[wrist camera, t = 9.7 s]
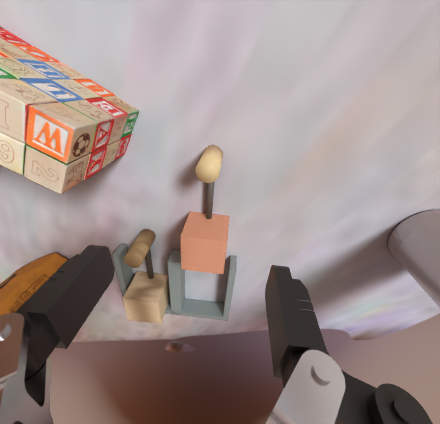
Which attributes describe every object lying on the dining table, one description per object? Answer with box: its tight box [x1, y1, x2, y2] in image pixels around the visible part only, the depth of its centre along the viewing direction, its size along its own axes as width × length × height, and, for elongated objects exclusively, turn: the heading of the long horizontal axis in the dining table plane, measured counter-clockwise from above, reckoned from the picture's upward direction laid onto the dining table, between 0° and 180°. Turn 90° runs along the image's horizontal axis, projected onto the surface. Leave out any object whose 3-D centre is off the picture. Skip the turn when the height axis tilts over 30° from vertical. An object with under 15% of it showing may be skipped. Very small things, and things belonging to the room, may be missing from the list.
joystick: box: [181, 145, 229, 274], centre depth 28 cm, size 6×16×6 cm, turn 175°
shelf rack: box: [112, 244, 236, 321], centre depth 39 cm, size 20×14×3 cm
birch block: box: [123, 229, 170, 324], centre depth 36 cm, size 6×16×6 cm, turn 176°
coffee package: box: [0, 253, 67, 316], centre depth 32 cm, size 10×12×22 cm
